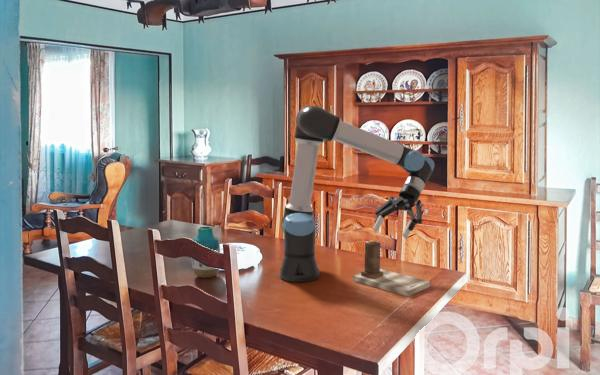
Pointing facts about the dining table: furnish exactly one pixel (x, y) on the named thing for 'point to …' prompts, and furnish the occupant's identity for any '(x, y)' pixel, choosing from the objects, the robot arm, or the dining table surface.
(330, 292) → the dining table surface
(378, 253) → the brown pillar
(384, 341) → the dining table surface
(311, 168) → the robot arm
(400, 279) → the board
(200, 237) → the vase
